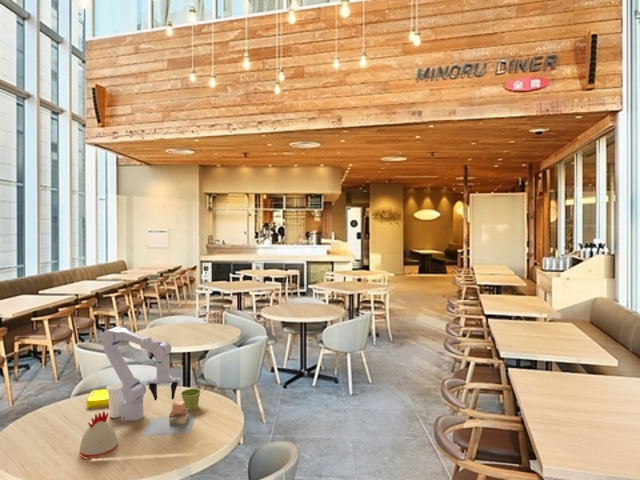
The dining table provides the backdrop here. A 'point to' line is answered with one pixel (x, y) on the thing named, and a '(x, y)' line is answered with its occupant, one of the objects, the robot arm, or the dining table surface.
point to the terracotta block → (178, 407)
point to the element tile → (98, 399)
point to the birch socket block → (178, 417)
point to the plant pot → (191, 398)
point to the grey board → (167, 427)
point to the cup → (115, 399)
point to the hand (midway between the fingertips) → (164, 399)
